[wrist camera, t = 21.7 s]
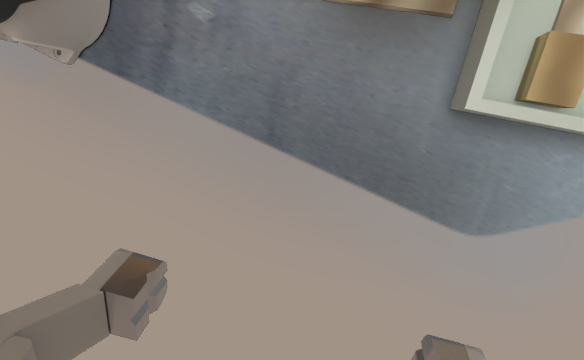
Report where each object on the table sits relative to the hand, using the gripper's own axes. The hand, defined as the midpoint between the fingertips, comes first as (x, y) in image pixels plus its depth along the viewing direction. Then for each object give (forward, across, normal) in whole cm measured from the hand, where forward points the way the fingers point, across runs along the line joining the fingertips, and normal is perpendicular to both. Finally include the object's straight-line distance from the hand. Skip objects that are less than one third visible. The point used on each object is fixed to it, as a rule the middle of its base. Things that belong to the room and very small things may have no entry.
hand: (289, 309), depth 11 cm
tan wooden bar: (+33, -19, -11) cm, 39 cm away
